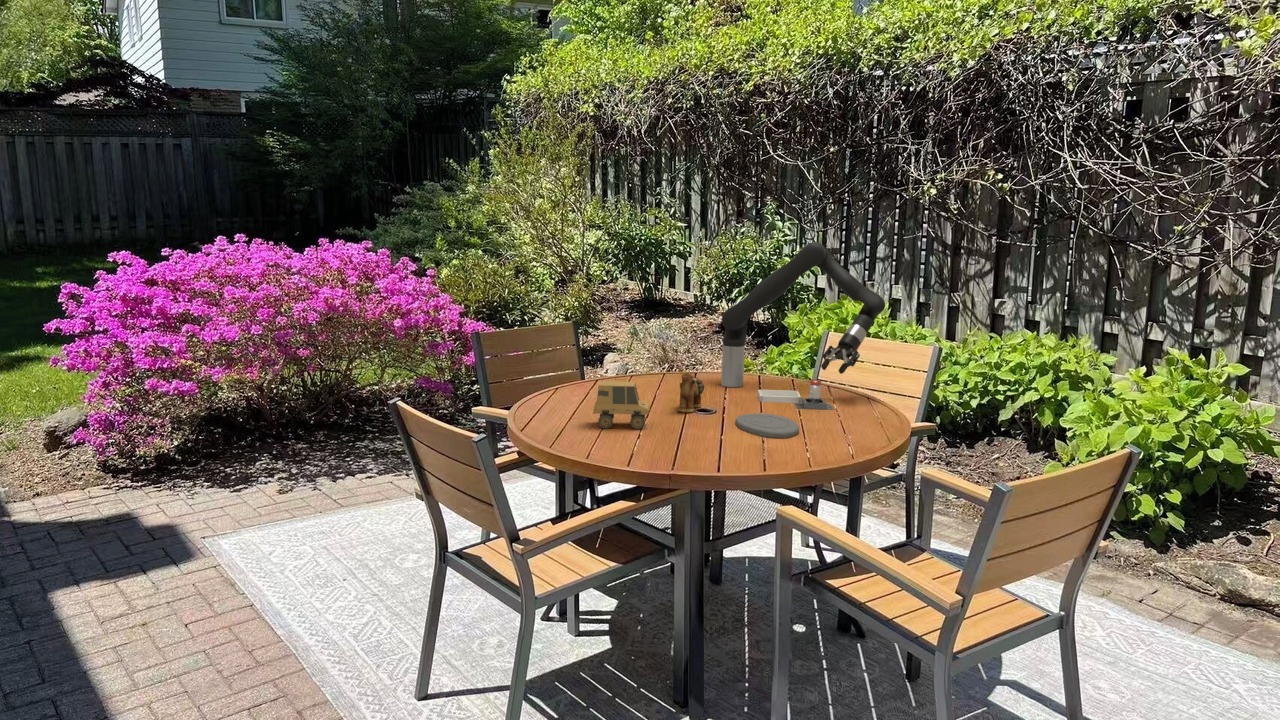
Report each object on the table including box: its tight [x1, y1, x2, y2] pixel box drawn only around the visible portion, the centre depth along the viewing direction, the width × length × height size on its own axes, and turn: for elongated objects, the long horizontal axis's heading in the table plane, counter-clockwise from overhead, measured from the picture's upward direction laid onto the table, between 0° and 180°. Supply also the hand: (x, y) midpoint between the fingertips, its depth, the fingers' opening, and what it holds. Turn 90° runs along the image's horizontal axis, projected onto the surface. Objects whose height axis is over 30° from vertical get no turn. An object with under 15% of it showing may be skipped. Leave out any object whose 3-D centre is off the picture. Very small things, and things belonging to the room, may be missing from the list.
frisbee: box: [735, 412, 800, 439], centre depth 306 cm, size 20×27×3 cm
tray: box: [757, 389, 802, 404], centre depth 346 cm, size 16×12×3 cm
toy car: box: [593, 380, 650, 431], centre depth 304 cm, size 10×19×15 cm, turn 89°
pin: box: [808, 379, 822, 403], centre depth 333 cm, size 4×4×10 cm
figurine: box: [677, 372, 705, 414], centre depth 327 cm, size 9×15×15 cm, turn 159°
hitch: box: [793, 397, 835, 411], centre depth 334 cm, size 14×9×3 cm, turn 87°
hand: (831, 370), depth 337 cm, fingers open, 8 cm apart
